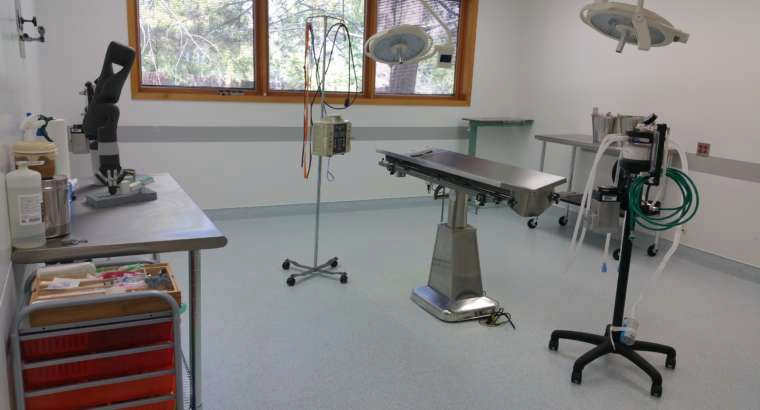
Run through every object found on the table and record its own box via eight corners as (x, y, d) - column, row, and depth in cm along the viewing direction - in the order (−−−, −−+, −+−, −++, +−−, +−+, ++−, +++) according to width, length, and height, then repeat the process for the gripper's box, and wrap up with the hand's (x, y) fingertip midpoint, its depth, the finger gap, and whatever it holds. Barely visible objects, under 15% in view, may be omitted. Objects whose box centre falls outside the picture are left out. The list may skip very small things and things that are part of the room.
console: (86, 201, 229) (84, 188, 228) (144, 193, 245) (142, 181, 244) (97, 208, 218) (95, 194, 217) (157, 198, 234) (155, 186, 233)
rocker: (128, 189, 231) (126, 184, 230) (150, 180, 237) (148, 175, 236) (132, 191, 227) (130, 186, 226) (155, 182, 233) (153, 177, 232)
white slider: (120, 194, 228) (118, 181, 227) (128, 193, 230) (126, 180, 229) (122, 195, 226) (121, 182, 224) (131, 194, 228) (129, 181, 227)
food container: (144, 190, 251) (141, 168, 249) (137, 193, 245) (134, 171, 243) (118, 189, 252) (116, 168, 250) (111, 192, 246) (108, 170, 244)
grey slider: (124, 189, 238) (122, 176, 236) (132, 188, 240) (130, 175, 238) (127, 190, 235) (125, 178, 234) (135, 189, 237) (133, 177, 236)
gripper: (122, 150, 228) (126, 191, 232) (88, 153, 219) (92, 195, 223) (129, 152, 222) (132, 194, 226) (94, 155, 213) (98, 198, 217)
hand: (112, 194), depth 224 cm, fingers closed
